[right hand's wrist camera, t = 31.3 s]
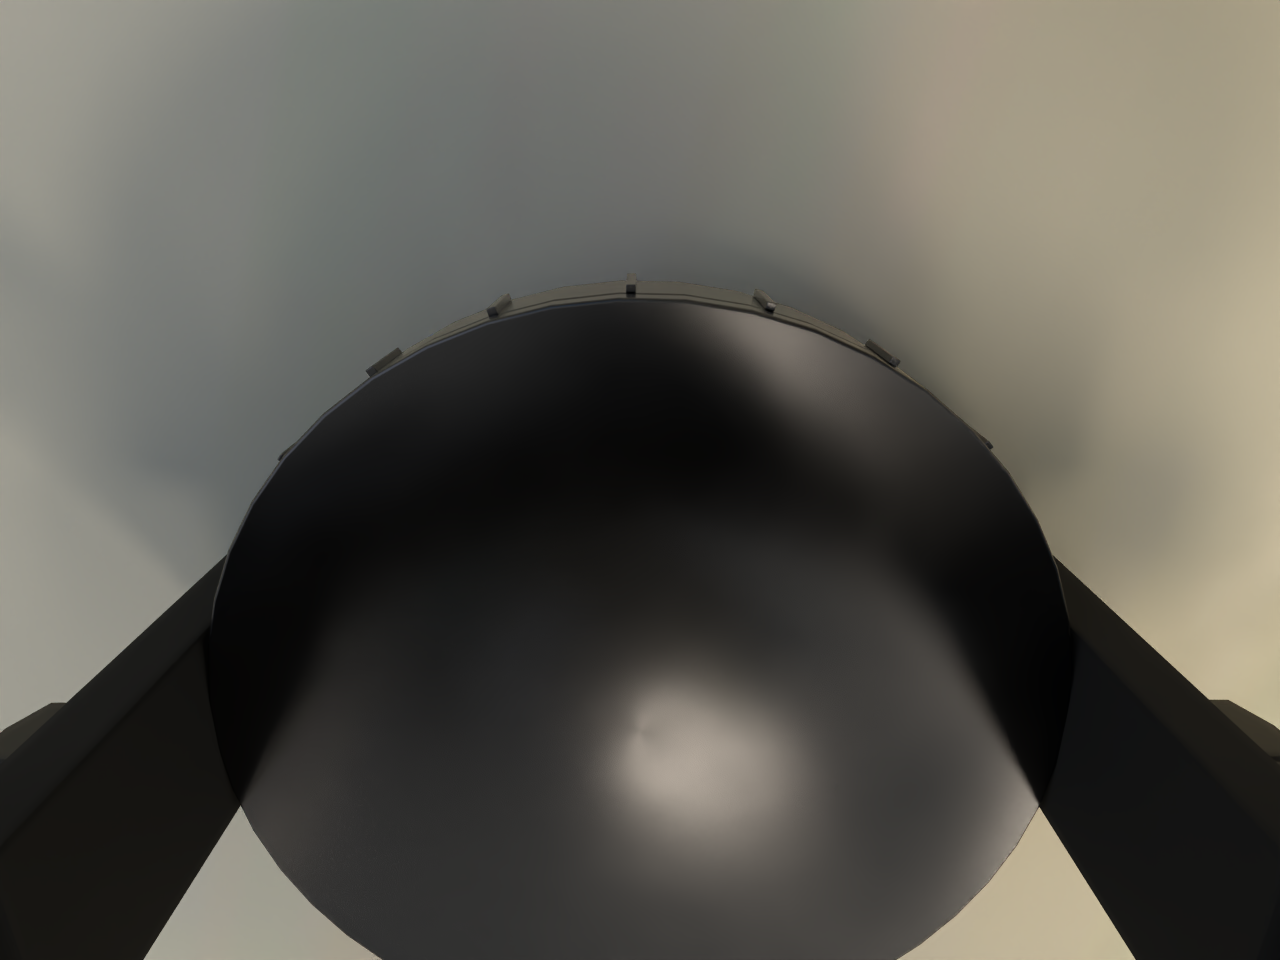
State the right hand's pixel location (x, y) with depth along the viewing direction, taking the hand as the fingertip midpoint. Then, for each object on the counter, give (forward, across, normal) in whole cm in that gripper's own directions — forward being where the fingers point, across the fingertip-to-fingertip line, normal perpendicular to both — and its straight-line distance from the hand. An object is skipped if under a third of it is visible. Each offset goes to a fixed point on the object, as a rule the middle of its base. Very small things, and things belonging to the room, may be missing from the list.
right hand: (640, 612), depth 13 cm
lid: (-3, 0, 0) cm, 3 cm away
